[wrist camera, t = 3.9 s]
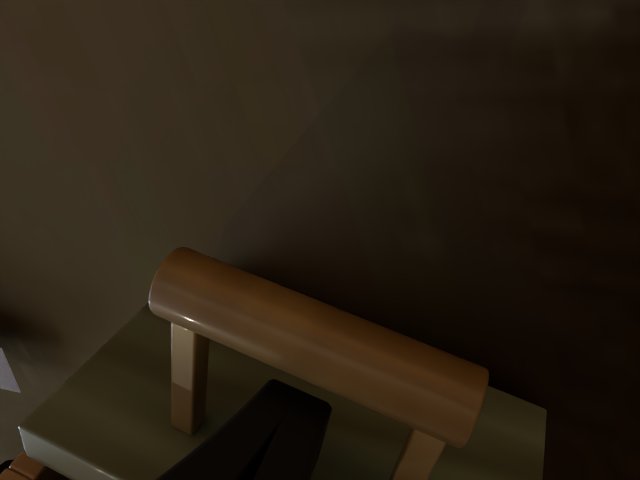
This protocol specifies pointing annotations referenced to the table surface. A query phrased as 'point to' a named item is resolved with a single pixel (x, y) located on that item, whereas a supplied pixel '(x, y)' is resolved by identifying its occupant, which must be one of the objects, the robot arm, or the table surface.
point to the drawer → (288, 367)
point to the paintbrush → (6, 375)
